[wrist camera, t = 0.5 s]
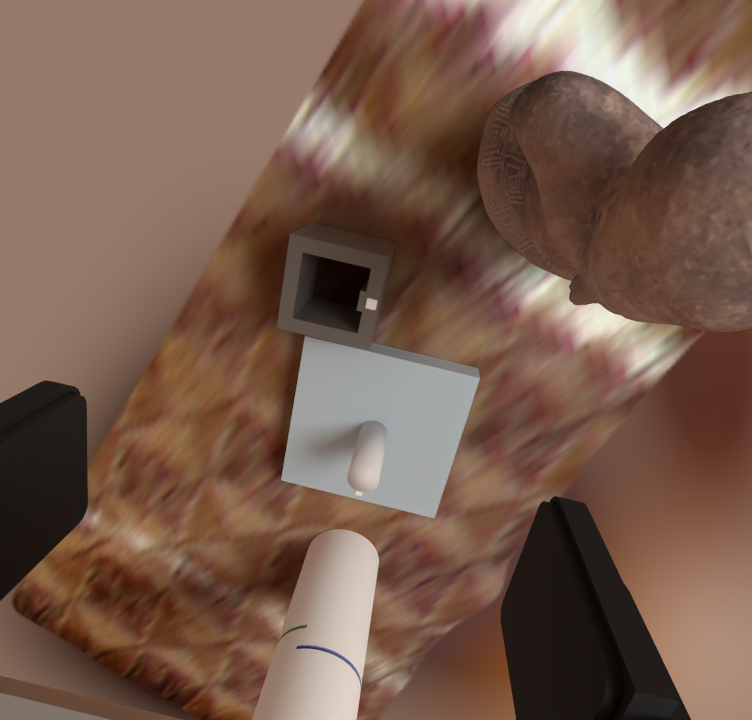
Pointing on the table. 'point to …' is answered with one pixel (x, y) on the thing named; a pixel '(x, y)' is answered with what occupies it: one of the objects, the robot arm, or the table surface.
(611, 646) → the robot arm
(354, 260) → the square tunnel housing
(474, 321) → the table surface
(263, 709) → the cylindrical container
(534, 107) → the clay figurine
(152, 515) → the table surface
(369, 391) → the shaft base
